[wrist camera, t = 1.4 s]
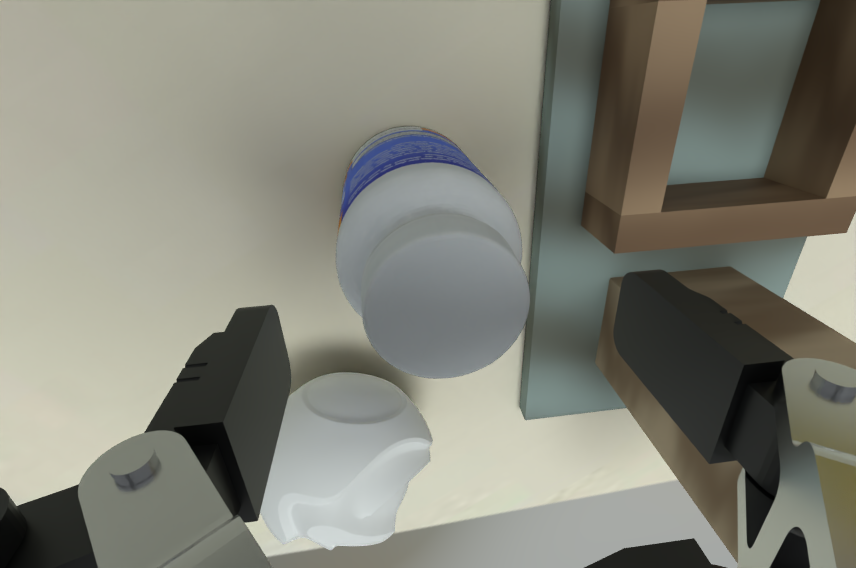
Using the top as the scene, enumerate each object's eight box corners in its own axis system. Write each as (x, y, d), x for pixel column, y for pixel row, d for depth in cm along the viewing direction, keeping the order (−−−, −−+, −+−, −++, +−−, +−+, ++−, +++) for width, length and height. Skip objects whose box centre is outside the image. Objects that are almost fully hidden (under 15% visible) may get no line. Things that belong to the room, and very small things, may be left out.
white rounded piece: (358, 469, 26) (354, 617, 20) (241, 414, 23) (190, 565, 17) (449, 384, 24) (481, 517, 17) (333, 311, 21) (317, 437, 14)
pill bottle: (317, 168, 18) (272, 281, 9) (435, 96, 17) (501, 148, 9) (388, 271, 20) (402, 433, 12) (493, 212, 20) (589, 341, 11)
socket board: (557, -85, 15) (1169, -497, 4) (908, -93, 16) (2237, -427, 5) (519, 407, 25) (642, 701, 14) (733, 381, 26) (1007, 635, 15)
